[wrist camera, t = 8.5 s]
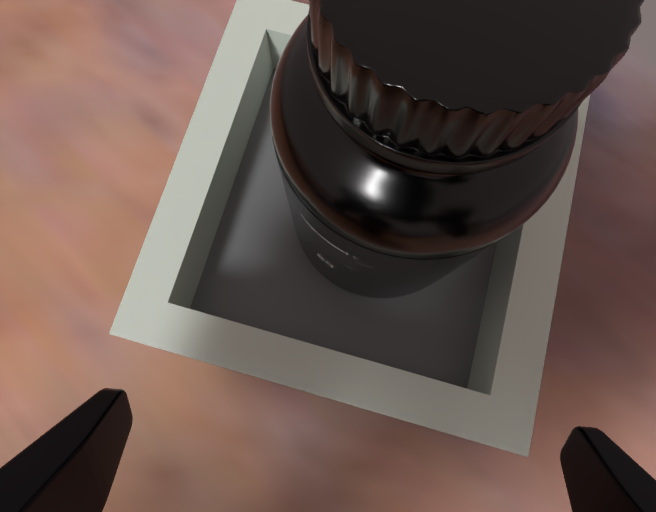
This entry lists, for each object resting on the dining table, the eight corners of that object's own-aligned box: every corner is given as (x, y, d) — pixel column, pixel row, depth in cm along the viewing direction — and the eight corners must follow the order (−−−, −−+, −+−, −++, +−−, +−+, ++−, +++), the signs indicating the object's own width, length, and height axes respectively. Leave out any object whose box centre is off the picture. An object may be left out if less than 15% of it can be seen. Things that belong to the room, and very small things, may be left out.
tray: (492, 438, 17) (528, 457, 14) (145, 336, 17) (109, 333, 14) (553, 115, 20) (593, 74, 17) (253, 40, 20) (241, -12, 17)
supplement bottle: (261, 202, 18) (139, -78, 6) (390, 110, 19) (495, -286, 7) (365, 336, 17) (456, 303, 5) (497, 231, 18) (831, -3, 6)
